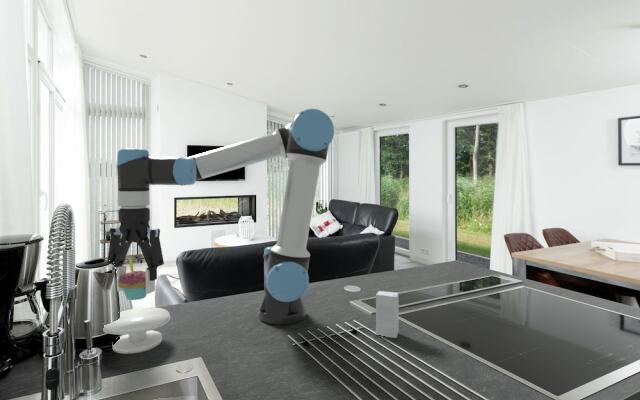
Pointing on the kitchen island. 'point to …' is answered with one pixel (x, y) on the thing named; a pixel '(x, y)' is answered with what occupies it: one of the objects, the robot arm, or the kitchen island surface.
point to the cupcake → (133, 283)
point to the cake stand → (138, 329)
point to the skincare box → (387, 314)
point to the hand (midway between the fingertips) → (136, 290)
